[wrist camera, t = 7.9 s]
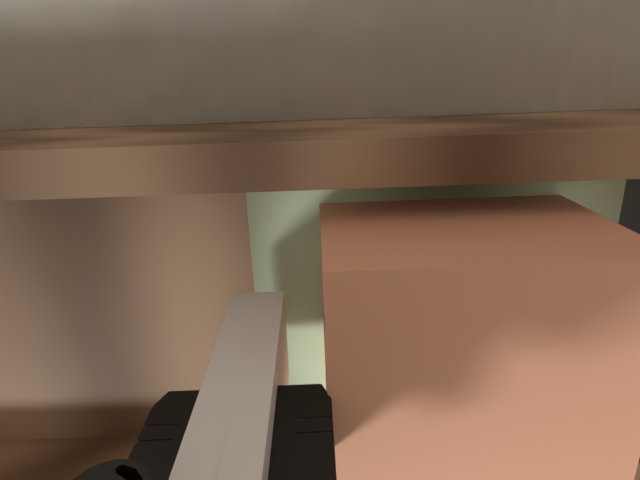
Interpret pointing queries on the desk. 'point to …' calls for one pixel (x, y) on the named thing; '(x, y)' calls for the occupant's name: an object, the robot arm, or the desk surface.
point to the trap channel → (225, 246)
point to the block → (481, 339)
